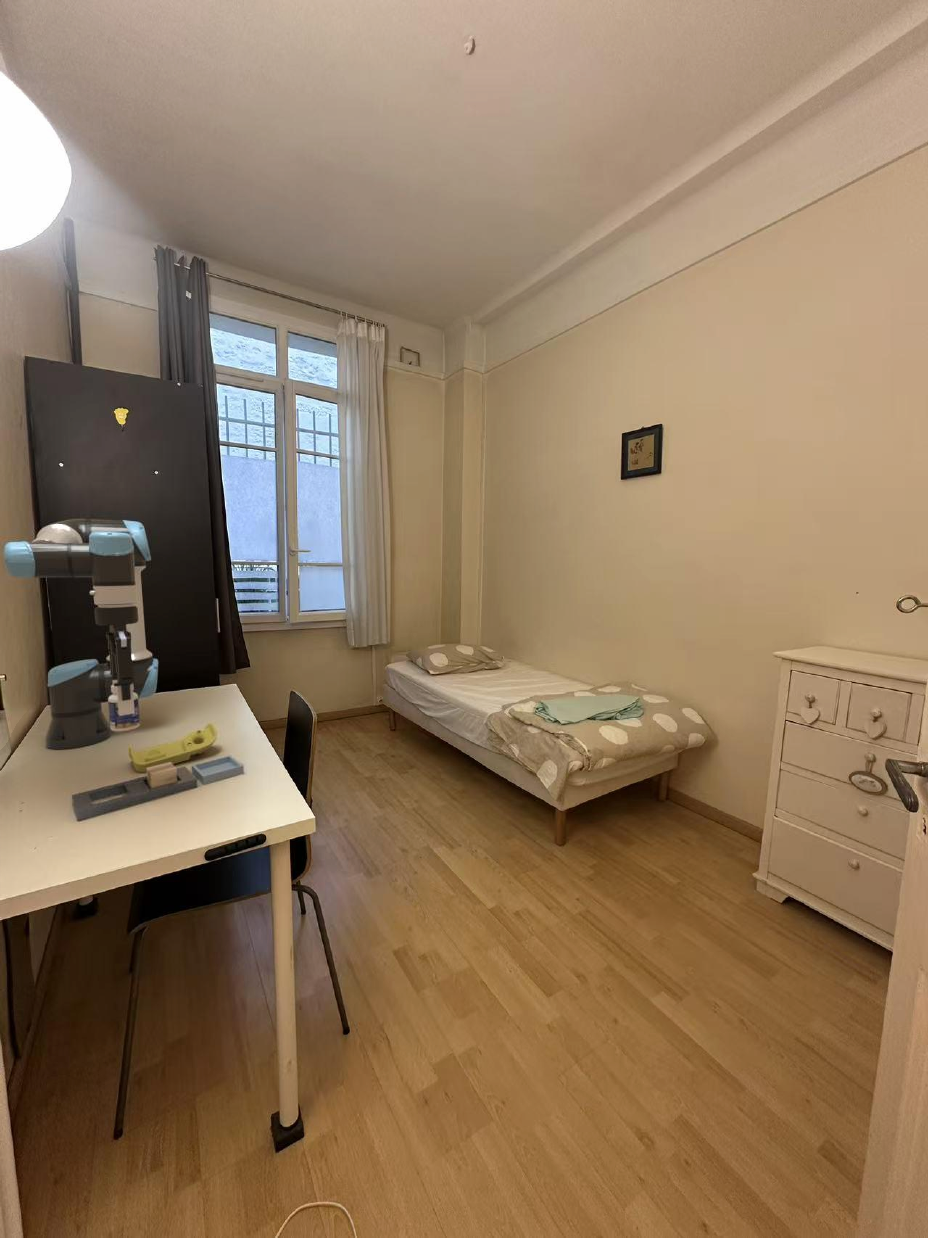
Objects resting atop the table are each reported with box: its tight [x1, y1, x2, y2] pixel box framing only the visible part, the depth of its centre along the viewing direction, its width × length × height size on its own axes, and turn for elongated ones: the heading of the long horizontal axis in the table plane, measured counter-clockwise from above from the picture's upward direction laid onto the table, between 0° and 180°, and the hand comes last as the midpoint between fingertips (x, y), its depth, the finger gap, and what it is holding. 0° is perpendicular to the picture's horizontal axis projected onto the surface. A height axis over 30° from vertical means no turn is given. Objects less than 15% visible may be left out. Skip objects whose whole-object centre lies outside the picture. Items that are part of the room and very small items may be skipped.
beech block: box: [146, 762, 177, 789], centre depth 112 cm, size 5×5×5 cm
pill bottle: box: [107, 683, 141, 732], centre depth 106 cm, size 5×5×10 cm
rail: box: [71, 766, 198, 822], centre depth 109 cm, size 10×22×2 cm, turn 134°
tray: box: [191, 754, 245, 786], centre depth 121 cm, size 9×9×2 cm
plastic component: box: [128, 722, 218, 773], centre depth 130 cm, size 20×7×10 cm
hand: (124, 710), depth 106 cm, fingers closed on pill bottle, 5 cm apart
